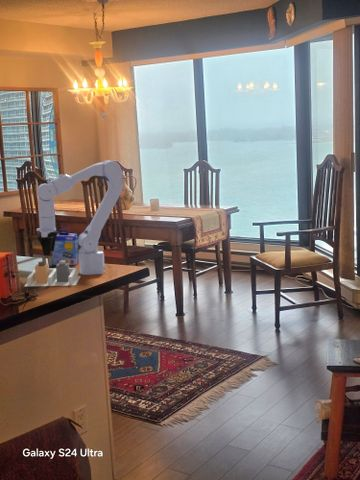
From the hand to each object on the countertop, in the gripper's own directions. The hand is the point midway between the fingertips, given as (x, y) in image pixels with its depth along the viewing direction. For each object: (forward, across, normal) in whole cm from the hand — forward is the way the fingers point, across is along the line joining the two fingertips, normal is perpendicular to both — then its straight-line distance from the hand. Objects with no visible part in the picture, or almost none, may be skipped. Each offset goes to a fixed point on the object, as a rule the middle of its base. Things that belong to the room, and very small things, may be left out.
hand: (49, 253), depth 235 cm
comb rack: (+9, +8, +2) cm, 13 cm away
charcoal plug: (+9, +8, +6) cm, 13 cm away
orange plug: (+9, +9, -1) cm, 13 cm away
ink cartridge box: (+10, -24, +2) cm, 26 cm away
